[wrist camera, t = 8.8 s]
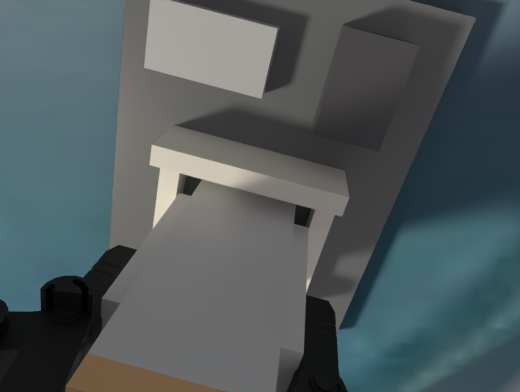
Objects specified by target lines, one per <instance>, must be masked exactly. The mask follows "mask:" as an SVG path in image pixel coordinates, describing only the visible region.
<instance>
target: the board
mask: <svg viewBox="0 0 520 392" xmlns="http://www.w3.org/2000/svg"><path fill="white" fill-rule="evenodd" d="M475 20H476V18H475V17H472V16H468V15H464V14H460V13H456V12H452V11H448V10H445V9H441V8H437V7H433V6H429V5H425V4H422V3H418V2H414V1H410V0H125V12H124V28H123V43H122V58H121V74H120V89H119V104H118V120H117V135H116V150H115V165H114V181H113V196H112V211H111V227H110V242H109V249H111V248H113V247H115V246H117V245H122V246H125V247H129V248H133V249H136V250H138V248H139V247H140V246H141V244H142V243H143V242H144V240H145V239H146V238H147V236H148V235H149V233H150V232H151V231H152V229H153V228H154V227H155V225H156V224H157V223H158V221H159V220H160V218H161V217H162V216H163V214H164V213H165V212H166V210H167V209H168V208H169V206H170V205H171V204H172V202H173V201H174V199H175V198H176V197H177V195H178V194H179V193H182V194H186V195H189V196H192V194H193V193H194V191H195V190H196V188H197V187H198V185H199V183H200V182H201V180H202V179H203V180H207V181H211V182H214V183H218V184H222V185H226V186H229V187H233V188H237V189H241V190H244V191H248V192H252V193H255V194H259V195H263V196H267V197H270V198H274V199H278V200H282V201H285V202H289V203H293V204H296V209H295V218H294V224H297V225H300V226H304V227H308V228H309V234H308V259H307V283H306V295H309V296H313V297H316V298H320V299H324V300H327V301H329V302H330V304H331V306H332V308H333V310H334V311H335V317H336V334H337V332H338V329H339V327H340V325H341V323H342V320H343V318H344V316H345V314H346V311H347V309H348V307H349V305H350V302H351V300H352V298H353V296H354V293H355V291H356V289H357V287H358V284H359V282H360V280H361V278H362V275H363V273H364V271H365V268H366V266H367V264H368V262H369V259H370V257H371V255H372V253H373V250H374V248H375V246H376V244H377V241H378V239H379V237H380V235H381V232H382V230H383V228H384V226H385V223H386V221H387V219H388V217H389V214H390V212H391V210H392V208H393V205H394V203H395V201H396V199H397V196H398V194H399V192H400V190H401V187H402V185H403V183H404V180H405V178H406V176H407V174H408V171H409V169H410V167H411V165H412V162H413V160H414V158H415V156H416V153H417V151H418V149H419V147H420V144H421V142H422V140H423V138H424V135H425V133H426V131H427V129H428V126H429V124H430V122H431V120H432V117H433V115H434V113H435V111H436V108H437V106H438V104H439V102H440V99H441V97H442V95H443V92H444V90H445V88H446V86H447V83H448V81H449V79H450V77H451V74H452V72H453V70H454V68H455V65H456V63H457V61H458V59H459V56H460V54H461V52H462V50H463V47H464V45H465V43H466V41H467V38H468V36H469V34H470V32H471V29H472V27H473V25H474V23H475Z"/></svg>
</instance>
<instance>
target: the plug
mask: <svg viewBox="0 0 520 392" xmlns="http://www.w3.org/2000/svg"><path fill="white" fill-rule="evenodd" d="M295 209H296V204H293V203H289V202H285V201H282V200H278V199H274V198H270V197H267V196H263V195H259V194H255V193H252V192H248V191H244V190H241V189H237V188H233V187H229V186H226V185H222V184H218V183H214V182H211V181H207V180H203V179H202V180H201V182H200V183H199V185H198V187H197V188H196V190H195V191H194V193H193V194H192V196H191V197H190V199H189V200H188V202H187V203H186V205H185V206H184V208H183V209H182V211H181V212H180V214H179V215H178V217H177V218H176V220H175V221H174V223H173V224H172V226H171V227H170V229H169V230H168V232H167V233H166V235H165V237H164V238H163V240H162V241H161V243H160V244H159V246H158V247H157V249H156V250H155V252H154V253H153V255H152V256H151V258H150V259H149V261H148V262H147V264H146V265H145V267H144V268H143V270H142V271H141V273H140V274H139V276H138V277H137V279H136V280H135V282H134V283H133V285H132V287H131V288H130V290H129V291H128V293H127V294H126V296H125V297H124V299H123V300H122V302H121V303H120V305H119V306H118V308H117V309H116V311H115V312H114V314H113V315H112V317H111V318H110V320H109V321H108V323H107V324H106V326H105V327H104V329H103V330H102V332H101V333H100V335H99V337H98V338H97V340H96V341H95V343H94V344H93V346H92V347H91V349H90V350H89V352H88V353H87V355H86V356H85V358H84V359H83V361H82V362H81V364H80V365H79V367H78V368H77V370H76V371H75V373H74V374H73V376H72V377H71V379H70V380H69V382H68V383H67V385H66V392H276V385H277V375H278V366H279V357H280V348H281V338H282V329H283V320H284V311H285V301H286V292H287V283H288V274H289V265H290V255H291V246H292V237H293V228H294V218H295Z"/></svg>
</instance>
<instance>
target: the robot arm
mask: <svg viewBox="0 0 520 392" xmlns="http://www.w3.org/2000/svg"><path fill="white" fill-rule="evenodd" d="M190 197H191V196H189V195H186V194H182V193H179V194H178V195H177V197H176V198H175V199H174V201H173V202H172V204H171V205H170V206H169V208H168V209H167V210H166V212H165V213H164V214H163V216H162V217H161V218H160V220H159V221H158V223H157V224H156V225H155V227H154V228H153V229H152V231H151V232H150V233H149V235H148V236H147V238H146V239H145V240H144V242H143V243H142V244H141V246H140V247H139V248H138V250H136V249H133V248H129V247H125V246H122V245H117V246H115V247H113V248H111V249H109V250H108V251H106V252H105V253H104V254H103V255H102V257H101V258H100V259H99V260H98V262H96V264H95V265H94V266H93V267H92V268H91V270H90V271H89V272H88V273H87V274H86V275H85V276H84V278H82V277H78V276H62V277H58V278H54V279H52V280H51V281H49V282H47V283H46V284H45V285H44V286H43V287H42V288H41V289H40V291H41V311H33V312H8V307H7V305H6V303H5V302H4V301H2V300H0V392H66V385H67V383H68V382H69V380H70V379H71V377H72V376H73V374H74V373H75V371H76V370H77V368H78V367H79V365H80V364H81V362H82V361H83V359H84V358H85V356H86V355H87V353H88V352H89V350H90V349H91V347H92V346H93V344H94V343H95V341H96V340H97V338H98V337H99V335H100V333H101V332H102V330H103V329H104V327H105V326H106V324H107V323H108V321H109V320H110V318H111V317H112V315H113V314H114V312H115V311H116V309H117V308H118V306H119V305H120V303H121V302H122V300H123V299H124V297H125V296H126V294H127V293H128V291H129V290H130V288H131V287H132V285H133V283H134V282H135V280H136V279H137V277H138V276H139V274H140V273H141V271H142V270H143V268H144V267H145V265H146V264H147V262H148V261H149V259H150V258H151V256H152V255H153V253H154V252H155V250H156V249H157V247H158V246H159V244H160V243H161V241H162V240H163V238H164V237H165V235H166V233H167V232H168V230H169V229H170V227H171V226H172V224H173V223H174V221H175V220H176V218H177V217H178V215H179V214H180V212H181V211H182V209H183V208H184V206H185V205H186V203H187V202H188V200H189V199H190ZM308 234H309V228H308V227H304V226H300V225H297V224H294V228H293V237H292V246H291V255H290V265H289V274H288V283H287V292H286V301H285V311H284V320H283V329H282V338H281V348H280V357H279V366H278V375H277V385H276V392H348V391H347V390H346V387H345V385H344V383H343V381H342V379H341V378H340V376H339V369H338V352H337V337H336V317H335V311H334V310H333V308H332V306H331V304H330V302H329V301H327V300H324V299H320V298H316V297H313V296H309V295H306V283H307V259H308Z"/></svg>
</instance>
